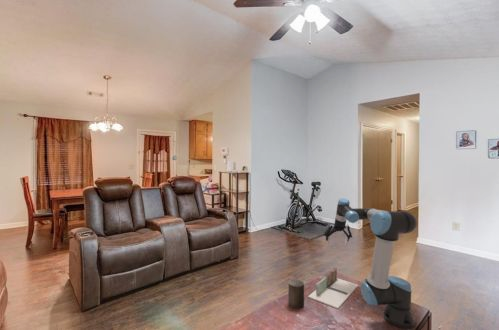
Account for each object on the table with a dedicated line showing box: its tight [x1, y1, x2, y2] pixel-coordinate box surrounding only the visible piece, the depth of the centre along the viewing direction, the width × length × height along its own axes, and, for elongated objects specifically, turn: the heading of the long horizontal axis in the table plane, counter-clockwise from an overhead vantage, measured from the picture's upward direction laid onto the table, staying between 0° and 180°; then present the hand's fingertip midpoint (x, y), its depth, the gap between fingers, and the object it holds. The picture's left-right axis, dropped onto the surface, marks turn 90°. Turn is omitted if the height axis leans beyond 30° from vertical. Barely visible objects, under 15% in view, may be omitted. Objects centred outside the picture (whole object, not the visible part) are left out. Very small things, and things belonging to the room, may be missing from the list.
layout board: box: [307, 278, 359, 310], centre depth 176 cm, size 38×20×1 cm, turn 139°
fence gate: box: [315, 276, 327, 295], centre depth 174 cm, size 14×2×8 cm, turn 139°
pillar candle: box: [287, 278, 305, 309], centre depth 160 cm, size 10×10×15 cm
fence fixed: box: [324, 267, 338, 288], centre depth 186 cm, size 17×2×8 cm, turn 139°
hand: (336, 244), depth 191 cm, fingers open, 13 cm apart
